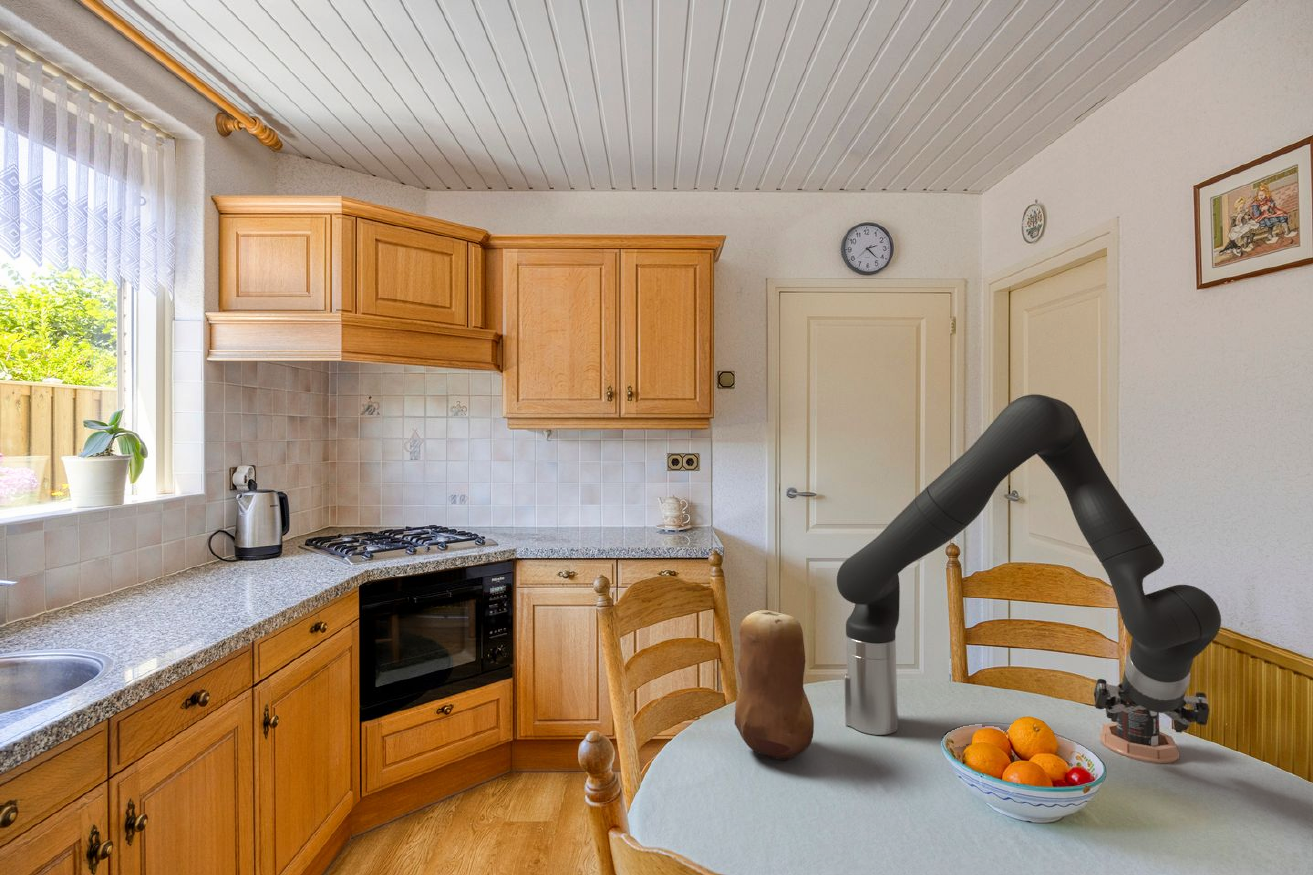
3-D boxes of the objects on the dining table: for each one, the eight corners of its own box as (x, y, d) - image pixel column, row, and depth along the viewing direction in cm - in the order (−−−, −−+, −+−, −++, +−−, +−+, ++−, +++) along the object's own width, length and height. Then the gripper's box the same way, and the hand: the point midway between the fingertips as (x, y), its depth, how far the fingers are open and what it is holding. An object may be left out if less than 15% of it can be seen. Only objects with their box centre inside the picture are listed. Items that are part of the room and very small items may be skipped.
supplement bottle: (1168, 754, 104) (1166, 687, 105) (1128, 751, 106) (1126, 685, 106) (1147, 738, 110) (1145, 675, 110) (1110, 735, 111) (1108, 673, 112)
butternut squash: (808, 737, 114) (805, 603, 115) (820, 774, 101) (816, 623, 102) (734, 735, 116) (731, 603, 116) (736, 771, 102) (733, 622, 103)
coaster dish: (1104, 753, 106) (1103, 740, 106) (1097, 728, 116) (1096, 716, 116) (1186, 769, 101) (1185, 755, 101) (1171, 741, 110) (1171, 729, 110)
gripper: (1211, 659, 92) (1194, 707, 101) (1095, 646, 99) (1090, 692, 108) (1223, 707, 87) (1205, 754, 96) (1101, 690, 94) (1095, 734, 104)
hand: (1144, 721), depth 102 cm, fingers open, 8 cm apart
